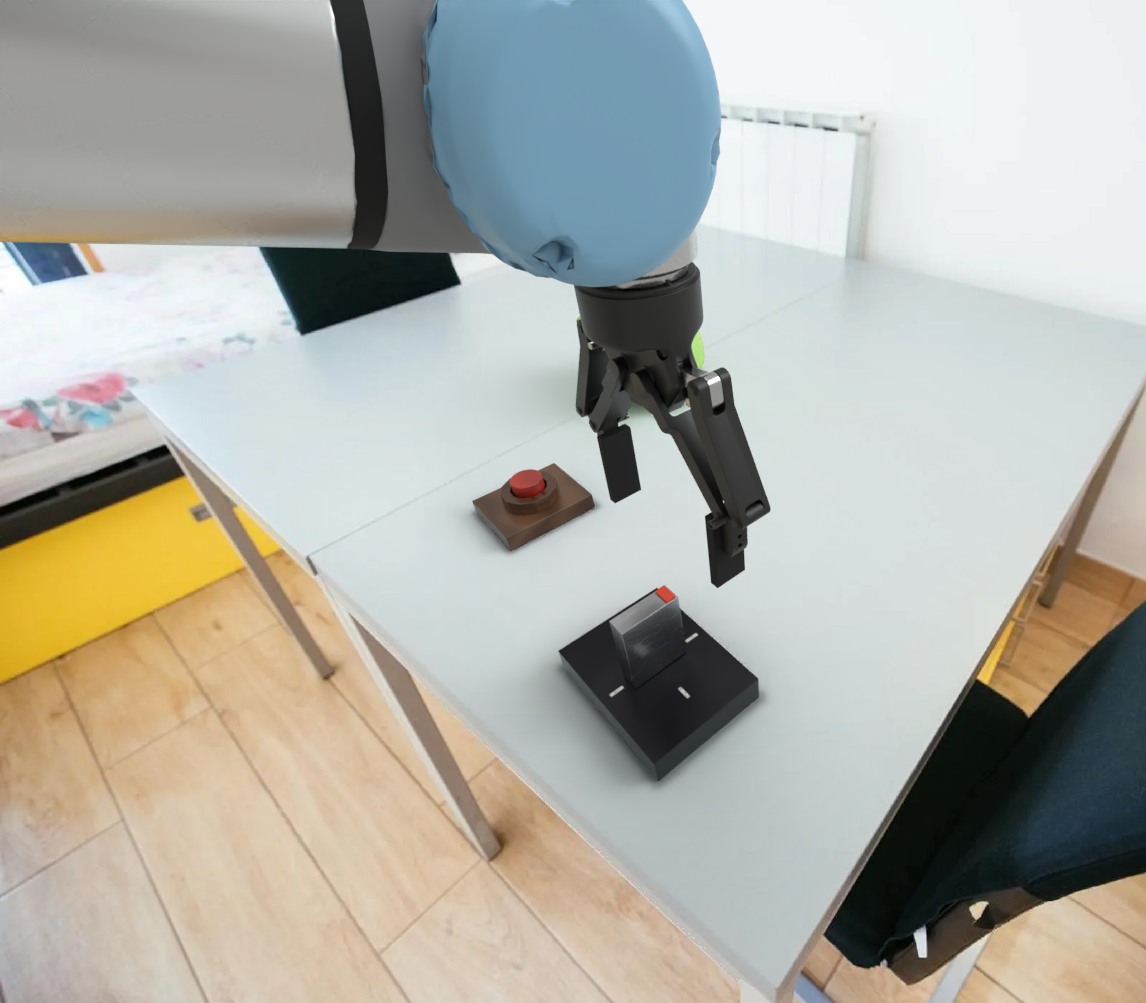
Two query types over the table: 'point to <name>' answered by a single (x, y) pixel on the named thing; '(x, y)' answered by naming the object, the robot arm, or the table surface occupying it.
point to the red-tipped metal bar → (649, 636)
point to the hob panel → (663, 693)
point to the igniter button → (527, 483)
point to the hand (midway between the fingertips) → (673, 532)
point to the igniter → (533, 508)
